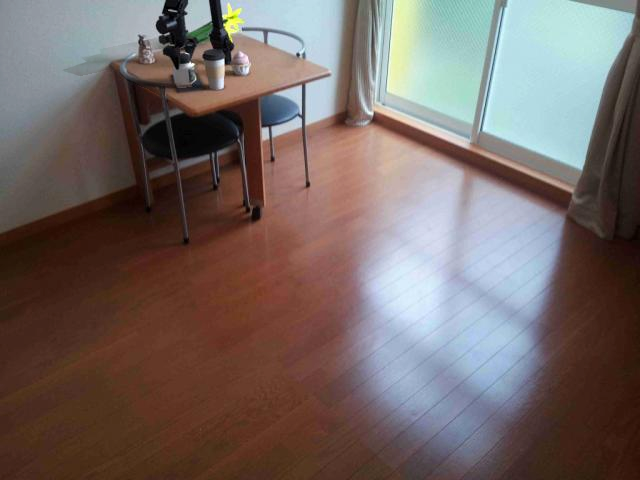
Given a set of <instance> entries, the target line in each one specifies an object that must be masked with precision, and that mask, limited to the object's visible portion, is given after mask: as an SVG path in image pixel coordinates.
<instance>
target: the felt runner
mask: <svg viewBox="0 0 640 480" xmlns="http://www.w3.org/2000/svg"><path fill="white" fill-rule="evenodd" d="M195 73H196V80H195V81H194V82H193V83H192V87H186V88H176V90H177V93H186V92H193V91H194V92H196V91H204V90H205V89H206V88H205V86H204V84H203V82H202V81H201V79H200V77H199V75H198V73H197V72H196V71H195ZM170 76H171V79H172V81H173V83H174V84H175V82H174V74H171V75H170Z"/></svg>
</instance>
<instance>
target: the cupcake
mask: <svg viewBox="0 0 640 480" xmlns="http://www.w3.org/2000/svg"><path fill="white" fill-rule="evenodd" d="M231 59H232V62H230V63H231V64H229V65H230V67H231V69H232V72H233V74H234V75H235V76H237V77H243V76H247V75H249V71H250V67H251V65H252V63H251V61H249V56H248V55H247V54H246V53H243V52H242V51H240V50H238V52H237V53H235V54H234V55H233V57H232V58H231Z"/></svg>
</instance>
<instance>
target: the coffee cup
mask: <svg viewBox="0 0 640 480" xmlns="http://www.w3.org/2000/svg"><path fill="white" fill-rule="evenodd" d="M201 58H202V59H203V62H204V69H205V73H206V77H207V82H208V86H209V89H210V90H213V91H220V90H222V89H224V87H225V86H224V85H225V68H226V67H225V66H226V65H225V63H224V58H225V54H224V53H223V51H222V50H219V49H213V48H210V49H206V50H204V51H203V53H202V56H201Z"/></svg>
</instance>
